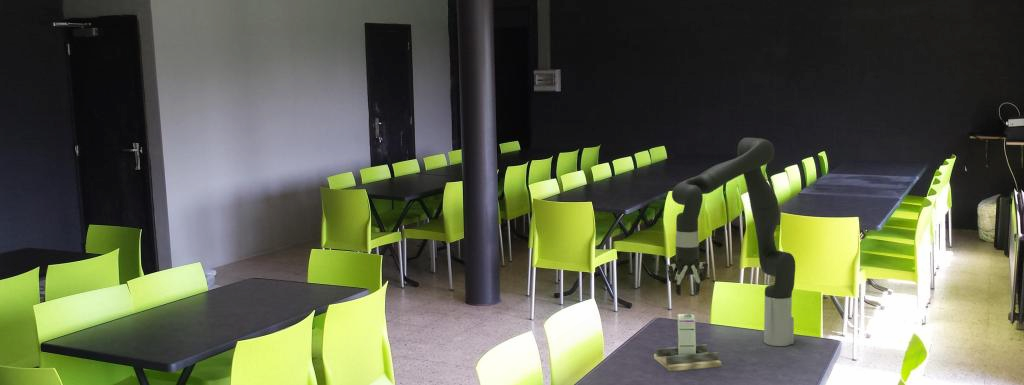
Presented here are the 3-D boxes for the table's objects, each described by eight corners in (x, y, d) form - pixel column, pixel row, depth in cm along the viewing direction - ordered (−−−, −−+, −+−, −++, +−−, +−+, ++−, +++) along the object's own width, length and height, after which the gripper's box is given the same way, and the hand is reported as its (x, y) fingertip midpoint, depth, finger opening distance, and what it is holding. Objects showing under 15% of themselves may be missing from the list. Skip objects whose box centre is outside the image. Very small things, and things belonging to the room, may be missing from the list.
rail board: (703, 353, 308) (703, 342, 308) (721, 366, 294) (721, 354, 294) (654, 358, 304) (654, 346, 304) (669, 371, 291) (669, 359, 290)
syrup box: (696, 360, 296) (696, 318, 294) (678, 360, 297) (678, 318, 295) (695, 355, 302) (695, 313, 300) (677, 355, 302) (677, 313, 301)
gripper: (702, 240, 299) (702, 290, 301) (662, 243, 296) (662, 293, 299) (712, 244, 292) (712, 295, 294) (670, 247, 289) (671, 298, 291)
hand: (687, 294), depth 296 cm, fingers open, 5 cm apart
